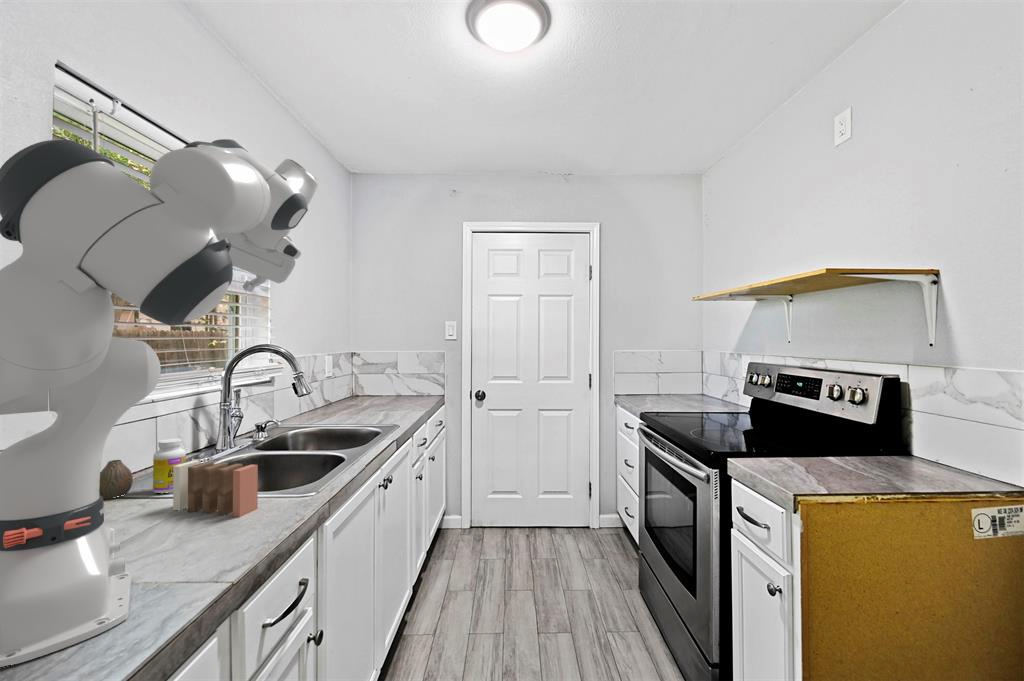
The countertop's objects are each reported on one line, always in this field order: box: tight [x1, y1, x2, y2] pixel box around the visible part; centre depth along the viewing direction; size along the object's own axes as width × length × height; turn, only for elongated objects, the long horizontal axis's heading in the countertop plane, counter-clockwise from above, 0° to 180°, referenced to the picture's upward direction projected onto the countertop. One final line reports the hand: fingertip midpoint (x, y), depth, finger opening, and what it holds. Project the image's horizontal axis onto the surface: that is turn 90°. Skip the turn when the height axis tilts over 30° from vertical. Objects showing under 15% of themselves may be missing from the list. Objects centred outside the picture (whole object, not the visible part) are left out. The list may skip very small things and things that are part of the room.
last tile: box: [172, 460, 201, 512], centre depth 104 cm, size 2×5×10 cm, turn 167°
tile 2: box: [217, 463, 244, 516], centre depth 102 cm, size 2×5×10 cm, turn 167°
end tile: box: [232, 464, 259, 518], centre depth 101 cm, size 2×5×10 cm, turn 168°
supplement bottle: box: [152, 438, 187, 494], centre depth 116 cm, size 7×7×13 cm
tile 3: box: [202, 462, 229, 515], centre depth 103 cm, size 2×5×10 cm, turn 168°
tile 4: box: [187, 461, 215, 513], centre depth 104 cm, size 2×5×10 cm, turn 168°
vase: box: [99, 459, 134, 499], centre depth 111 cm, size 7×7×9 cm
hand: (225, 282), depth 97 cm, fingers open, 8 cm apart
